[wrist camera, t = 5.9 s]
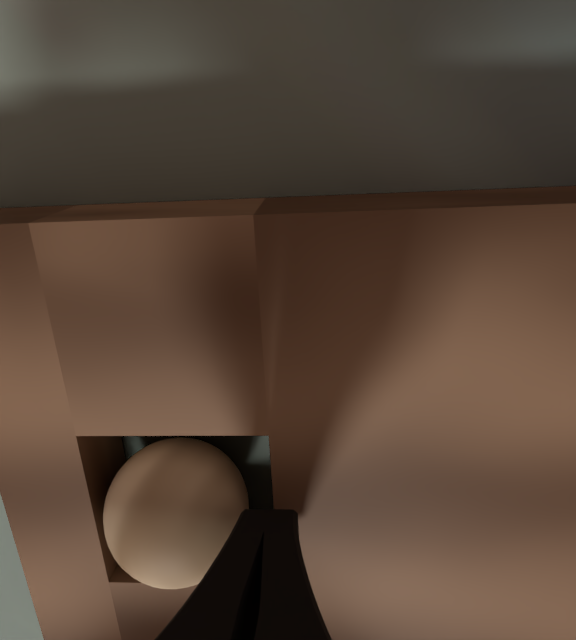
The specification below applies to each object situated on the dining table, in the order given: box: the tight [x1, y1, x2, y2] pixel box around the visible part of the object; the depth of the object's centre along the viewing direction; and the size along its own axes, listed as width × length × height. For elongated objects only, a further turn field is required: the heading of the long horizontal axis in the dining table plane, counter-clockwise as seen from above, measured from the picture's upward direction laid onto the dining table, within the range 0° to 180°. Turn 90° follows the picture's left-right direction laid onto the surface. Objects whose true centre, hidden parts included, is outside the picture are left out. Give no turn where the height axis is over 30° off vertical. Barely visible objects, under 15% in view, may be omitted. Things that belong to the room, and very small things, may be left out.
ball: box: [103, 437, 249, 589], centre depth 15 cm, size 4×4×4 cm
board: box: [0, 186, 576, 640], centre depth 15 cm, size 16×22×2 cm
